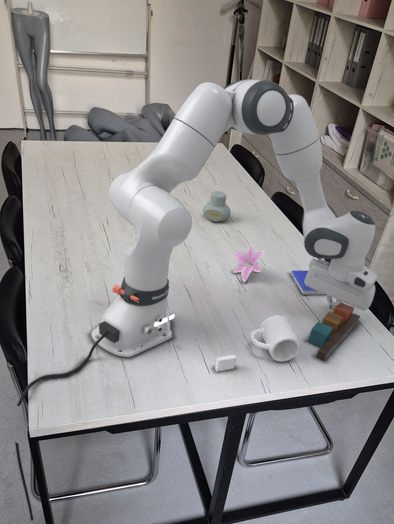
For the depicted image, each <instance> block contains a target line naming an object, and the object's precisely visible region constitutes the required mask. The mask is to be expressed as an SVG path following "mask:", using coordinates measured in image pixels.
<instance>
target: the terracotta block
mask: <svg viewBox="0 0 394 524" xmlns="http://www.w3.org/2000/svg"><path fill="white" fill-rule="evenodd" d="M354 310H355V307H353V306H351V305H349V304H346V303H344V302H341V303H340V304H339V305H337V306H336V307H335V308H334V311H333V310H332V313H335V314H337V315H339V316H342V317H344V318H343V321H342V324H343V323H344V322H345V321H346V320H347V319H348V318H349V317H350V316H351V315H352V314H353V313H354ZM342 324H341V325H342Z"/></svg>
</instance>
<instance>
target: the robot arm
mask: <svg viewBox="0 0 394 524" xmlns="http://www.w3.org/2000/svg"><path fill="white" fill-rule="evenodd" d="M229 129H231V130H233V131H239V132H241V133H243V134H249V135H258V136H267V135H268V137H269V138H270V141H271V144H272V149H273V152H274V155H275V159H276V161H277V164H278V166H279V168H280V171H281V172H282V174H283V177H284V178H285V179H286V180H289V181H291V182H294V183H295V185H296V188H297V190H298V193H299V197H300V200H301V205H302V207H303V214H302V218H301V227H302V233H303V234H302V235H303V245H304V249H305V251H306V253H307V254H308V255H309V256H311V257H312V258H311V259H310V260H309V264H308V268H309V269H308V270H307V271H308V273H307V275H306V278H305V281H304V283H305V285H306V286H308V287H310V288H312V289H315V290H317V291H319V292H321V293H324V294H323V295H326V297H325V298H326V302H327V307H326V309H327V310H330V311H332V312H333V311H334V308H335V307H336V306H337V305H339V304H340V303H341V302H342V303H344V304H347V305H349V306H351V307H354V308H356V309H358V310H360V311H362V312H364V311H367V310H368V309H369V308H370V307H371V306H372V303H373V300H374V297H375V295H376V294H375V293H376V285H375V283H376V281H377V279H378V275H377V274H376V273H375V272H373V271H372V270H371V269H370V268H369V267H367V266H366V265H365V261H366V256H367V255H368V253H369V251H370V249H371V246H372V243H373V240H374V237H375V232H376V223H375V220H374V219H373V218H372V216H370V215H368V214H367V213H366V212H363V211H360V210H351V211H349V212H348V213H346V214H343V215H341V216H339V217H338V215H337V213H336V211H335V210H334V209H333V208H332V207H331V205H330V204H329V203H328V202H327V199H326V195H325V192H324V188H323V185H322V181H321V175H320V174H321V169H322V167H323V149H322V143H321V142H322V141H321V138H320V133H319V130H318V127H317V124H316V121H315V118H314V115H313V113H312V110H311V107H310V106H309V103H308V102H307V100H306V99H305V98H304V97H303V96H302V95H299V94H288V93H287V92H286V91H285V89H284V88H283V87H282V86H281V85H279V83H276V82H274V81H273V80H272V81H271V80H268V79H263V80H260V79H257V78H256V79H255V78H248V79H244V80H236V81H233V82H230V83H229V84H227V85H226V86H225V87H223V86H221V85H219V84H217V83H214V82H212V81H211V82H210V81H205V82H202V83H200V84H199V85H197V87H195V88H194V90H193V91H192V92H191V93H190V95H188V97H187V98H186V99H185V101H184V102H183V103H182V105H181V107H180V108H179V110H178V111H177V112H176V114H175V115H174V116H173V119H172V120H171V122H170V124H169V126H168V127H167V129H166V131H165V132H164V133H163V135H162V137H161V139H160V140H159V142H158V144H157V145H156V146H155V148H154V149H153V150H152V151H151V153H150V154H149V155H148V156H147V157H146V158H145V159H144V160H143V161H142V162H141V163H139V164H138V165H137V166H136V167H135V168H133V169H132V170H130V171H128V172H127V171H126V172H123V173H121V174H119V175H117V176H116V178H114V179H113V181H112V182H111V184H110V186H109V189H108V190H109V191H108V198H109V201H110V204H111V205H112V207H113V208H114V210H115V212H116V213H117V215H119V216H120V217H121V218H122V219H123V220H124V221H126V222H127V223H129V224H130V225H131V226H132V227H133V229H134V232H135V241H134V243H132V244H131V245H129V246H128V247H127V248H126V250H125V252H124V276H123V278H122V280H121V284H120V286H119V285H118V284H115V285H113V287H112V289H111V290H112V292H113V293H114V294H117V296H116V297H115V299H114V300H113V301H112V302H111V304H110V305H109V306H108V307H107V309H106V310H105V311H104V312H103V314H102V316H101V319H100V323H99V324H98V326H97V327H95V328H94V329H93V330H92V331H91V338H92V340H93V342H94V343H93V345H92V346H91V348H90V350H89V352H88V354H87V356H86V358H85V359H84V360H83V361H82V362H81V363H80V364H79V365H78V366H77V367H76V368H74V369H72V370H70V371H67V372H62V373H52V374H45V375H41V376H39V377H37V378H35V379H34V380H33V381H31V382H30V383H28V385H27V386H26V387H25V389H23V391H22V393H21V395H20V397H19V400H18V402H17V404H16V406H17V407H20V406H21V405H22V403H23V401H24V399H25V397H26V395H27V393H28V391H29V390H30V388H31V387H32V386H33V385H35V384H38V382H40V381H42V380H45V379H49V378H50V379H51V378H61V377H62V378H63V377H67V376H70V375H72V374H74V373H76V372H78V371H80V370H81V369H82V368H83V367H84V366H85V365H86V364H87V362H88V361H89V360H90V358H91V357H92V355H93V353H94V350H95V349H96V347H97V346H99V347H100V348H102V349H103V350H105V351H106V352H109V353H110V354H113V355H115V356H119V357H121V358H131V357H134V356H136V355H138V354H141V353H142V352H145V351H147V350H149V349H151V348H153V347H155V346H158V345H159V344H162V343H165V342H166V341H169V340H171V339H172V338H173V332H172V330H171V320H174V319H175V314H171V315H170V306H169V301H168V296H169V291H170V280H169V270H170V269H169V268H170V259H171V255H172V252H173V250H174V248H175V247H177V246H179V245H181V244H182V243H184V241H185V240H186V239H187V238H188V237H189V235H190V233H191V230H192V227H193V218H192V214H191V213H190V211H189V210H188V209H187V207H186V206H185V205H184V204H183V203H182V201H181V200H180V199H178V198H177V197H176V196H174V195H173V194H171V192H172V191H173V190H175V189H176V188H177V187H178V186H179V185H181V184H183V183H185V182H189V181H193V180H195V179H196V178H197V177H198V176H199V174H200V173H201V171H202V169H203V168H204V166H205V165H206V163H207V162H208V159H209V158H210V156H212V153H213V152H214V150H215V148H216V147H217V145H218V143H219V141H220V139H221V138H222V136H223V135H224V134H225V133H226V132H227V131H228V130H229ZM327 260H330V261H327ZM333 300H335V302H334V301H333ZM14 445H15V452H16V458H17V464H18V469H19V474H20V479H21V481H22V486H23V491H24V494H25V498H26V504H27V507H28V512H29V516H30V521H31V522H33V521H34V514H33V509H32V504H31V500H30V496H29V491H28V486H27V483H26V478H25V475H24V469H23V464H22V460H21V459H22V458H21V453H20V447H19V446H20V445H19V443H18V442H17V441H14Z"/></svg>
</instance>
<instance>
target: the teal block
mask: <svg viewBox="0 0 394 524" xmlns="http://www.w3.org/2000/svg"><path fill="white" fill-rule="evenodd" d="M332 330H333V328H332V327H330V326H327V325H325V324H323V323H322V322H321V321H317V322H316V323H315V325H313V327H312V328H311V331H310V334H309V337H308V340H307V342H308V343H310V344H313V345H314V346H317V347H319V348H321V347H322V346H323V345H324V344H325V343H326V342H327V341H328V340H329V338H330V337H331V333H332Z"/></svg>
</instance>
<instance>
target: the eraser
mask: <svg viewBox="0 0 394 524" xmlns="http://www.w3.org/2000/svg"><path fill="white" fill-rule="evenodd" d="M236 362H237V357H236V355H235V354H230V355H224V356H219V357H216V360H215V366H214V370H215V371H216V372H223V371H228V370H233V369H235V366H236Z"/></svg>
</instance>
